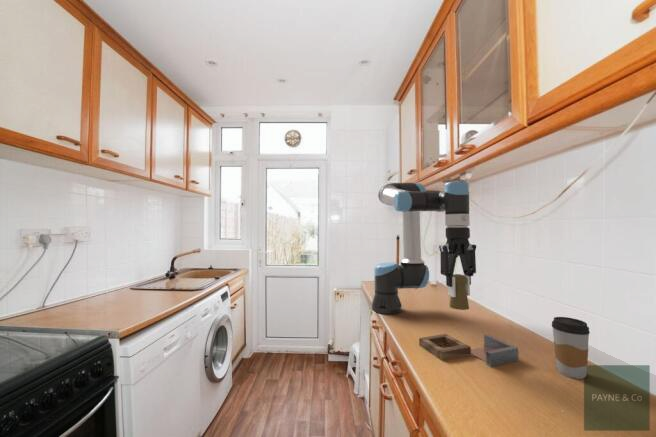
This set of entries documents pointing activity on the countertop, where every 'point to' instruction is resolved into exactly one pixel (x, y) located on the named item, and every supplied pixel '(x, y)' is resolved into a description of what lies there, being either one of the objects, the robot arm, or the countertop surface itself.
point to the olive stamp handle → (460, 293)
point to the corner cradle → (496, 352)
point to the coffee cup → (571, 346)
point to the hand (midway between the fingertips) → (458, 295)
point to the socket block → (446, 353)
